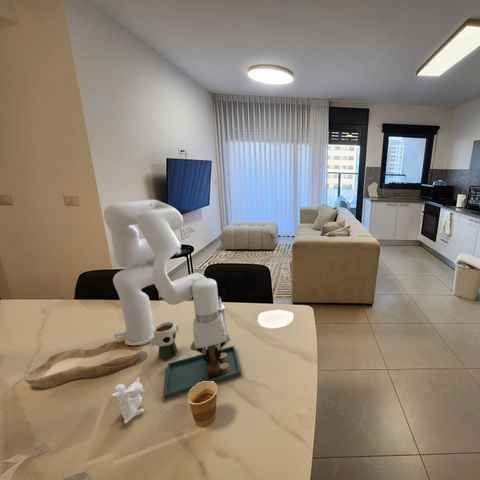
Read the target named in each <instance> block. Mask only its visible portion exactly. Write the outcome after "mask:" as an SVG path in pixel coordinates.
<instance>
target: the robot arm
mask: <svg viewBox="0 0 480 480" xmlns="http://www.w3.org/2000/svg"><path fill="white" fill-rule="evenodd" d="M103 219H104V222H105V224H106V226H107V228H108V230H109V232H110V234H111V241H112V242H111V243H112V248H113V255H114V256H113V257H114V259H115V263H116V264H117V265H118V266H119V267H121V268H124V269H121V270H120V271H118V272H117V273H115V274H114V276H113V277H112V283H113V286H114V288H115V290H116V293H117V295H118V298H119V301H120V305H121V311H122V315H123V320H124V325H125V330H123V331H118V332H115V333H114V337H115V338H116V340H117V341H118V340H122V339H123V340H124V339H126V340H128V341H129V342H130V343H132V344H136V345H139V346H143V345H147V344H148V343H151V341H150V340H151V338H153V337H154V333H153V329H154V327H155V323H154V318H153V317H154V316H153V312H152V307H151V301H150V297H149V295H148V294H147V293H146V292H144V291H142V290H143V289H144V288H146V287H149V286H152V285H154V287H155V288H156V289H157V291H158V293H159V295H160V297H161V298H162V299H163V300H164V302H165V303H167V304H168V305H171V306H175V305H178V304H181V303H183V302H185V301H187V300H189V299H191V298H192V299H193V306H194V314H195V317H194V318H193V324H192V328H193V329H192V331H193V341H192V343H191V345H190V351H195V352H199V353H200V354H203V355H204V361H206V362H207V364H208V363H209V359H208V352H207V347H208V346H211V345H216V355H217V361H219V357H221V352H220V350H221V349H223V347H224V346H225V345H226V344H227V343H229V342H230V341H231V337H230V335H229V333H228V334H227V333H226V332H225V325H224V320H223V316H222V314H221V313H222V312H224V308H222V309H221V308H219V302H218V297H219V293H218V292H219V291H218V283H217V281H216V280H215V279H213V278H209V277H208V278H207V277H206V276H205V275H203V274H201V273H199V272H192V273H190V274H187V275H185V276H182V277H180V278H177V279H175V280H172V281H171V279H170V278H169V276H168V273H167V263H168V261H170V259H171V258H172V257H173V256H175V255H176V254H177V253H179V252H180V250H181V248H182V244H181V242H180V241H179V239H178V238H177V236H176V234H175V232H174V231H175V230H176V231H177V230H179V229H181V228H182V226H183V224H184V218H183V216H182V214H181V212H180V211H179V210H178V209H177V208H175V207H173V205H170V204H167V203H166V202H162V201H160V200H159V199H142V200H141V199H140V200H128V201H127V200H126V201H120V202H119V201H118V202H114V203H111V204H108V205H107V206H106V207H105V208H104V211H103ZM136 225H137V227H138V228H137V227H136ZM139 230H140V231H139ZM140 232H141V234H142V236H143V237H144V238H140ZM139 346H138V347H139Z"/></svg>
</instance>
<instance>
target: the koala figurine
mask: <svg viewBox="0 0 480 480" xmlns="http://www.w3.org/2000/svg"><path fill="white" fill-rule="evenodd" d="M114 390H115V392H114V393H113V392H112V393H111V394H110V396H111V397H113V398H115V397H116V400H117V402H118V406H119V409H120V411H121V416H122V417H123V424H127V423H128V422H129V421H130V420H131V419H133V418H134V417H136V416H139V415H141V414H142V413H144V411H145V409H144V407H142V408H139V407H140V406H141V404H142V401H143V397H142V396H141V394H144V392H145V389H144V388H143V383H140V377H139V376H138V377H137V378H135V380H134V381H133V383H131V384H129V386H127V388H126V385H125V384H122V383H120V384H117V385H116V386H115V388H114ZM138 408H139V409H138Z"/></svg>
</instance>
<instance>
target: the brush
mask: <svg viewBox="0 0 480 480" xmlns="http://www.w3.org/2000/svg"><path fill="white" fill-rule="evenodd" d="M216 346H217V345H216V344H215V345H211V346H207V347H206V349H207V352H208V359H209V363H208V364H207V369H208V378H209V379H211V378H215V377H218V376H221V371H220V364H219V361H217V355H216Z"/></svg>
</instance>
